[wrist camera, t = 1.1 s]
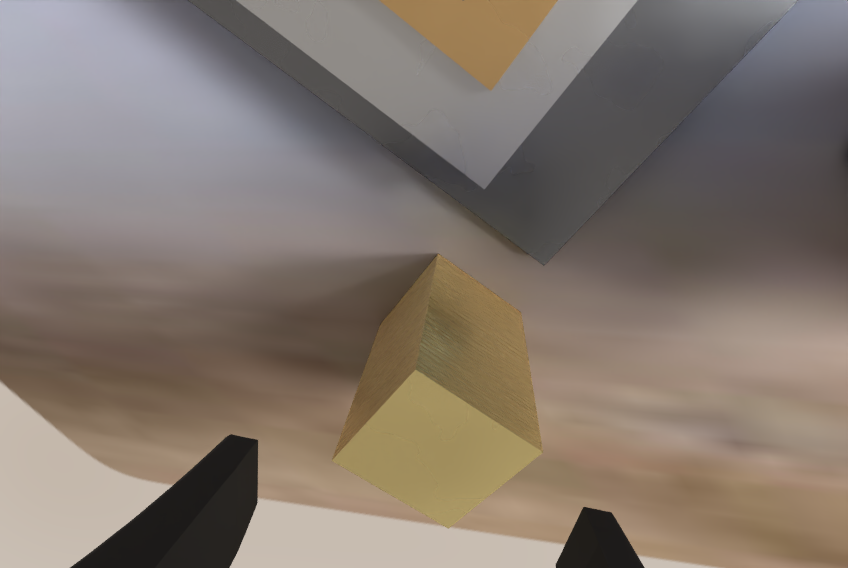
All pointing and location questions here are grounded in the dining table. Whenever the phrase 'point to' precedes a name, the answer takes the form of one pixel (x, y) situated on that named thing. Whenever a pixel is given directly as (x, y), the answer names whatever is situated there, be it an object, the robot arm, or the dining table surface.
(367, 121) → the rosette base
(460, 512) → the rectangular block
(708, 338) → the dining table surface
